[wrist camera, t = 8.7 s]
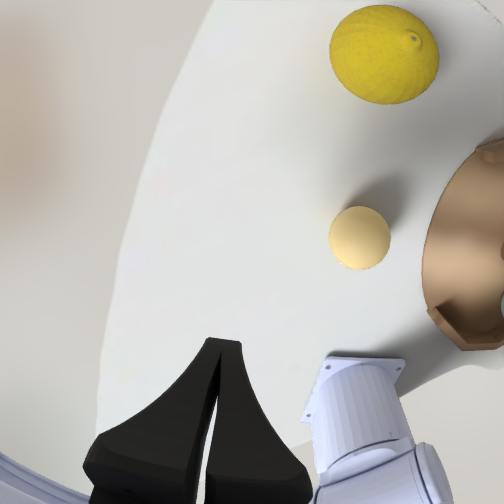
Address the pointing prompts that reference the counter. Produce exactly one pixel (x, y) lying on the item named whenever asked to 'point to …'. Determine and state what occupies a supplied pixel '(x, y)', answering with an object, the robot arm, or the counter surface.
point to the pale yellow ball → (359, 238)
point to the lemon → (384, 54)
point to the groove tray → (468, 253)
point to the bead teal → (502, 305)
